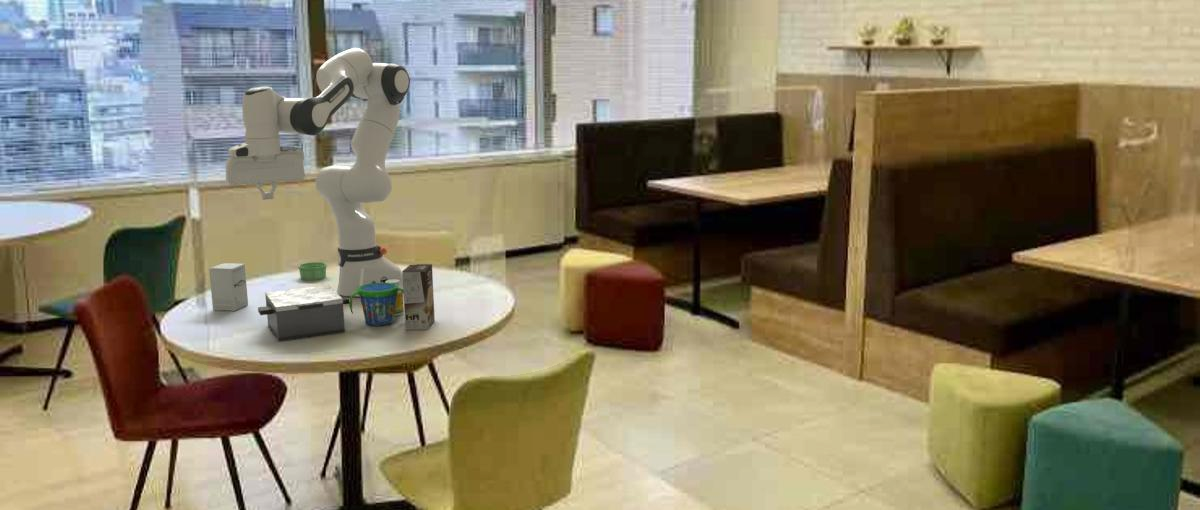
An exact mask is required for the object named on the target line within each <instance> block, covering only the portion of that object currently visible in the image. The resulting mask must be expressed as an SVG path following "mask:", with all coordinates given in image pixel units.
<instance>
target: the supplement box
mask: <svg viewBox="0 0 1200 510" xmlns="http://www.w3.org/2000/svg"><path fill="white" fill-rule="evenodd" d="M208 270H209V280H210V281H209V283H210V292H211V302H212V303H211V305H212V311H221V310H231V311H230V312H235V311H237V310H239V309H241V308H243V307H246V306H248V305H249V298H248V287H247V277H246V276H247V275H246V263H235V262H233V263H232V262H231V263H228V262H227V263H226V262H224V263H221V264H217V265H215V266H212V267H209V269H208Z"/></svg>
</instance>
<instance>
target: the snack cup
mask: <svg viewBox="0 0 1200 510" xmlns="http://www.w3.org/2000/svg"><path fill="white" fill-rule="evenodd" d="M399 290H401V291H402V292H403V289H402V288H400V287H398V286H397V285H395V284H392V283H371V284H366V285H362V286H360V287H359V288H358V289H357V290H356V291H354V292H353V293H352V295H351V296H349V304H348V306H349V310H350V312H351V314H352V315H353V314H354V311H353V298H354V297H355V296H354V295H355V294H359V295H360V297H359V298H360V302H361V307H362V311H363V315H364V321H365V324H367V325H369V326H376V327H377V326H383V325H390V324H392V323H393V322H394V319H395V316H394V312H395V301H396V296H397V292H398V291H399Z"/></svg>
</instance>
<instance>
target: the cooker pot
mask: <svg viewBox="0 0 1200 510" xmlns="http://www.w3.org/2000/svg"><path fill="white" fill-rule="evenodd" d="M340 297H341V298H342V299H343V303H340V304H333V305H325V306H323V307H319V308H311V309H304V310H299V309H294V310H286V311H278V312H276V311H275V310H274V308H273V307H272V305H271V304H270V302H269V301H268V300H267V298H266V297H265V304H266V306H260V307H257V313H259V316H265V315H266V317H267V326H268V328H269V329H270V332H272V335H274V337H275V338H276V340H277V341H278V342H287V341H292V340H295V341H296V340H300V339H301V340H302V339H306V338H308V339H309V338H314V337H323V336H328V335H336V334H341V333H343V334H344V333H346V327H345V313H344V305H349V300H350V298H348V296H340Z"/></svg>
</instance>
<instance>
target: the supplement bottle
mask: <svg viewBox="0 0 1200 510" xmlns="http://www.w3.org/2000/svg"><path fill="white" fill-rule="evenodd" d="M385 283H392V284H395V285H397V286H398V287H399V286H400V281H399V280H395V279H394V280H387V281H385ZM400 288H401V287H400ZM402 315H404V295H403V292H402V291H401V290H399V291H398V292H397V296H396V301H395V312H394V317H397V316H402Z"/></svg>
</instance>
